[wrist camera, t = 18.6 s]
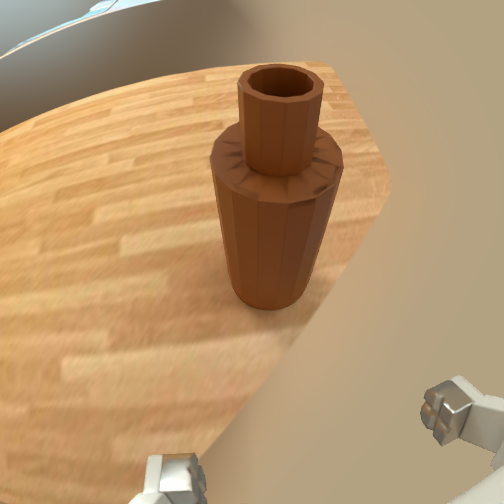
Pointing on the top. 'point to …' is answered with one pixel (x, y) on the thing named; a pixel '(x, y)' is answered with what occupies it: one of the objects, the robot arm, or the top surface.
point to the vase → (275, 184)
